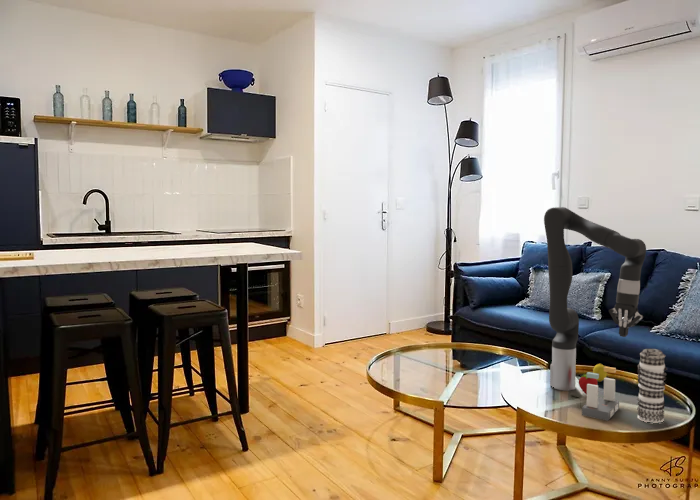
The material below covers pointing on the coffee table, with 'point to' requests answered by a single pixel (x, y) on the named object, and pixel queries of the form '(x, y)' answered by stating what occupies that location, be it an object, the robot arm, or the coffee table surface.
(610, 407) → the power strip
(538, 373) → the coffee table surface
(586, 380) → the strawberry
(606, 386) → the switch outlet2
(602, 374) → the lemon
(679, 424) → the coffee table surface
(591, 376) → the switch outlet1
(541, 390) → the coffee table surface
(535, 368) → the coffee table surface
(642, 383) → the patterned cylindrical tower
